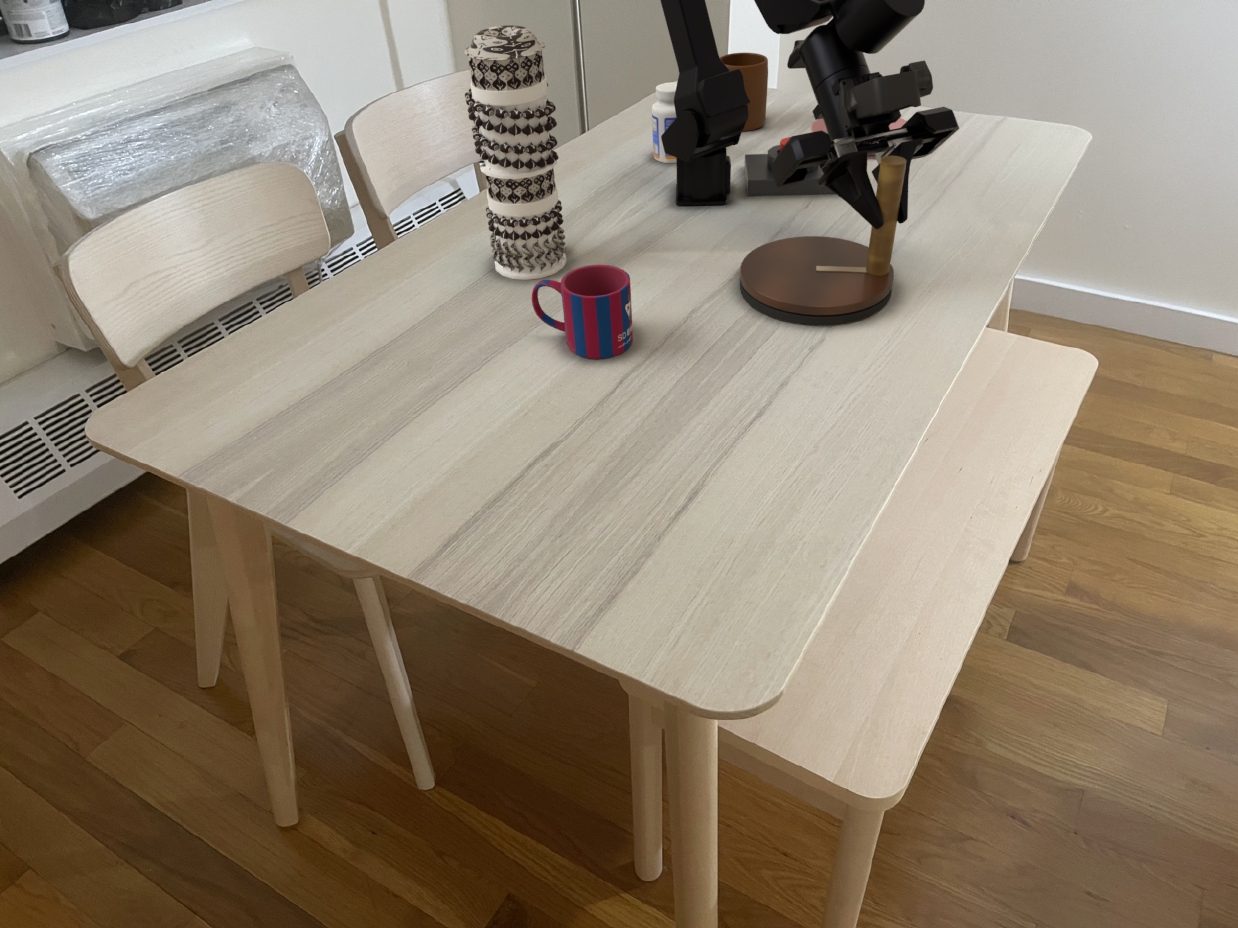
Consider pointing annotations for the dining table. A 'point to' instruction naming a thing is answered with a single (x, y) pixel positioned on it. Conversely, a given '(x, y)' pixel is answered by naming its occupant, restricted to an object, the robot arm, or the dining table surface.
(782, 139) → the button
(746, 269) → the turntable
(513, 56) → the decorative candle
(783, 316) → the turntable base
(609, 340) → the cup
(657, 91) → the pill bottle
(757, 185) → the control block
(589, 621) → the dining table surface
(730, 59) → the mug
